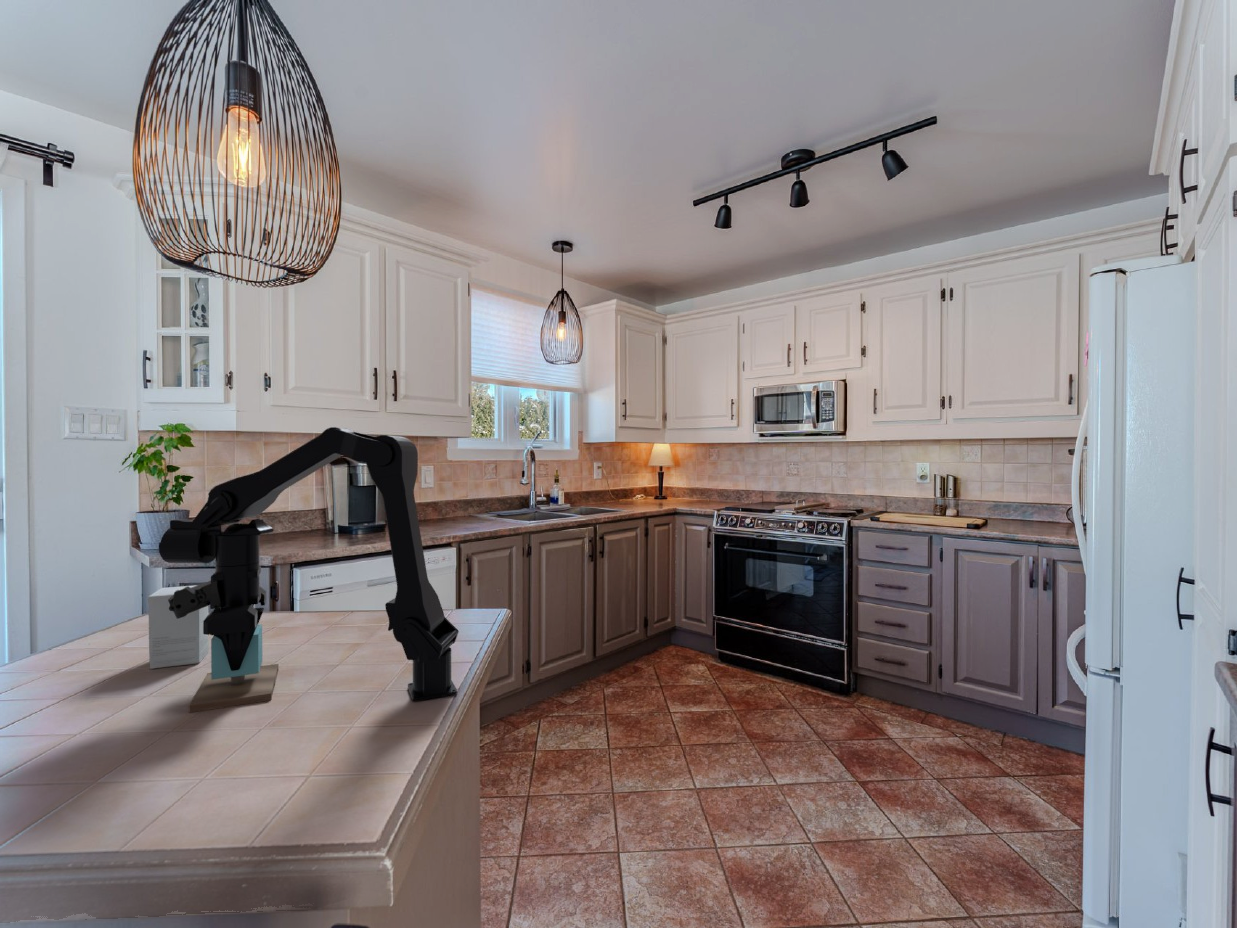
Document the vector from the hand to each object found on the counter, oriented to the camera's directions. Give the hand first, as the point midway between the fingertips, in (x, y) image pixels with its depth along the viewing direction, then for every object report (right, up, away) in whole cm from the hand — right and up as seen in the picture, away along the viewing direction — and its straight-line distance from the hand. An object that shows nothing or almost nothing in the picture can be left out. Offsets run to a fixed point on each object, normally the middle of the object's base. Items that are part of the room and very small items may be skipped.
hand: (238, 663), depth 91 cm
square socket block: (0, -1, 0) cm, 1 cm away
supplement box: (-19, -4, +13) cm, 23 cm away
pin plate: (0, -4, 0) cm, 4 cm away
